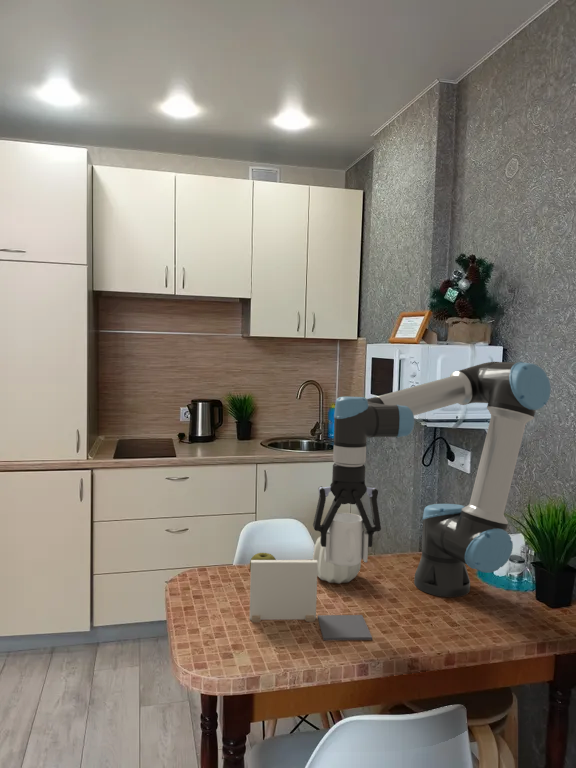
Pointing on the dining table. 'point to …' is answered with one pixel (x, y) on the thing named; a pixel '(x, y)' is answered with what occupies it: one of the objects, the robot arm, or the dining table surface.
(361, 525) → the mug
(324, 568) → the vase
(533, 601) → the dining table surface
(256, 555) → the apple
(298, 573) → the screen
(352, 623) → the pad
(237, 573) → the dining table surface
